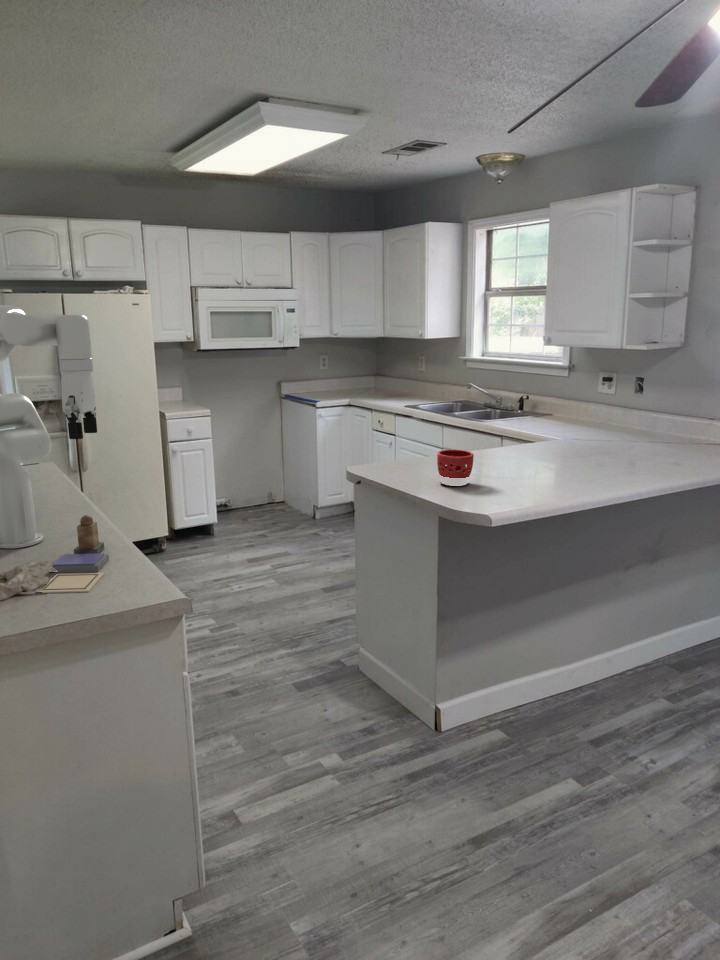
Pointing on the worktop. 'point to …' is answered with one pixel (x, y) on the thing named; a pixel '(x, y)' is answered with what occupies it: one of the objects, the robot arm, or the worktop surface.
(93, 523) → the stamp
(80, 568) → the ink pad
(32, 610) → the worktop surface
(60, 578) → the card
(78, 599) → the worktop surface
